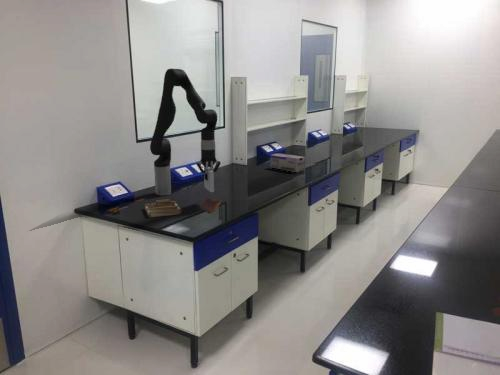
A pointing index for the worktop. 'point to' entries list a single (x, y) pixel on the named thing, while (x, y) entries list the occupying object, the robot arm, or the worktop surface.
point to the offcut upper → (163, 202)
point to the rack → (162, 210)
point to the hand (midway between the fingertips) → (208, 180)
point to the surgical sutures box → (287, 162)
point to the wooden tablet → (211, 205)
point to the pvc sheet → (209, 181)
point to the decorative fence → (116, 210)
